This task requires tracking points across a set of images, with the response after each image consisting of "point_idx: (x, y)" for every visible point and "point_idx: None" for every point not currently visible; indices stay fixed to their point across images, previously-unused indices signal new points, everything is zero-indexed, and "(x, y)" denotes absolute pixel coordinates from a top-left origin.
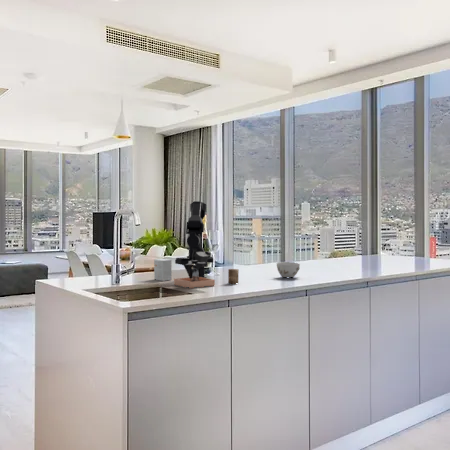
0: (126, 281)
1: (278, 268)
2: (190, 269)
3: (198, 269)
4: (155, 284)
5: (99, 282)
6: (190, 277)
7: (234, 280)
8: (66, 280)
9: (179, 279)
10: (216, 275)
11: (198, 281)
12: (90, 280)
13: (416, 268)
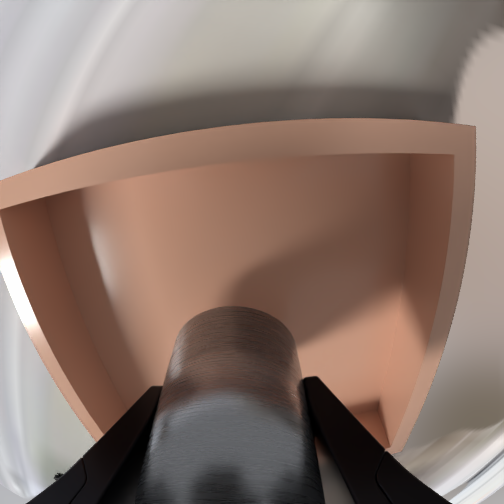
0: (441, 491)
1: None
2: (404, 494)
3: (150, 500)
4: (446, 436)
5: (500, 469)
6: (324, 390)
7: None
8: (501, 484)
9: (412, 407)
10: (19, 478)
11: (309, 120)
12: (478, 492)
13: None
